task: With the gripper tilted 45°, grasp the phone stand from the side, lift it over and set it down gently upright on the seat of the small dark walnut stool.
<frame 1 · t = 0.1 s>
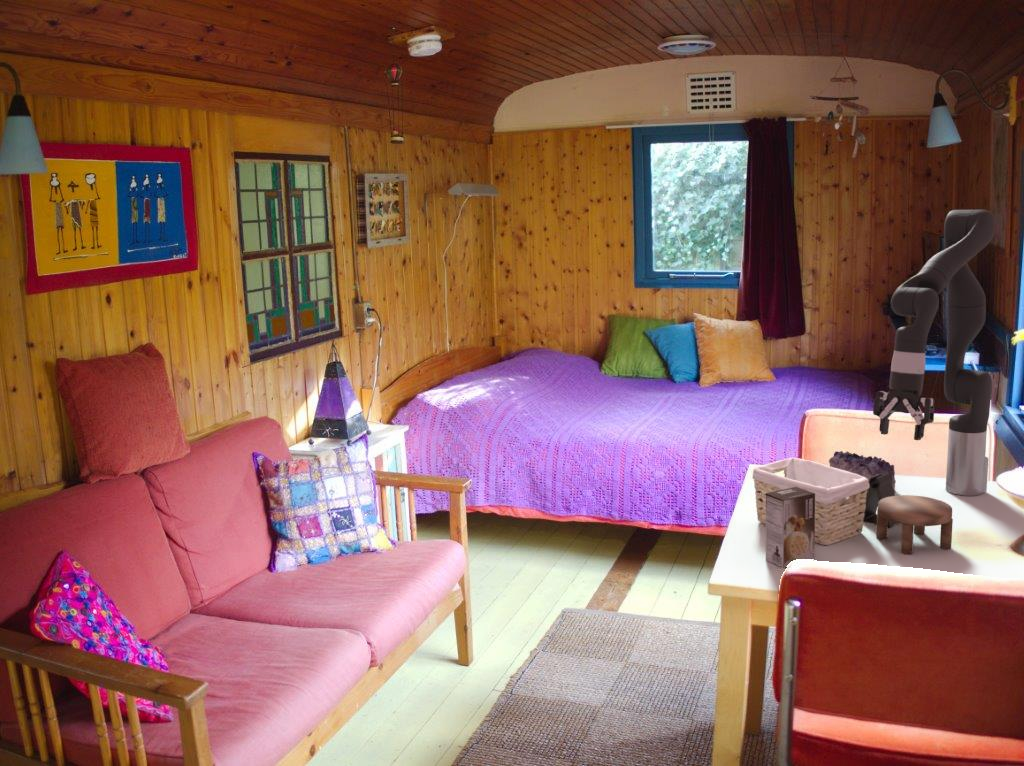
hand: (900, 437, 238), 22 cm above the table, fingers open, 8 cm apart
stool: (913, 542, 230), on the table
storage basket: (808, 529, 242), on the table
geode: (861, 485, 274), on the table
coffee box: (789, 561, 223), on the table
phone stand: (879, 521, 245), on the table
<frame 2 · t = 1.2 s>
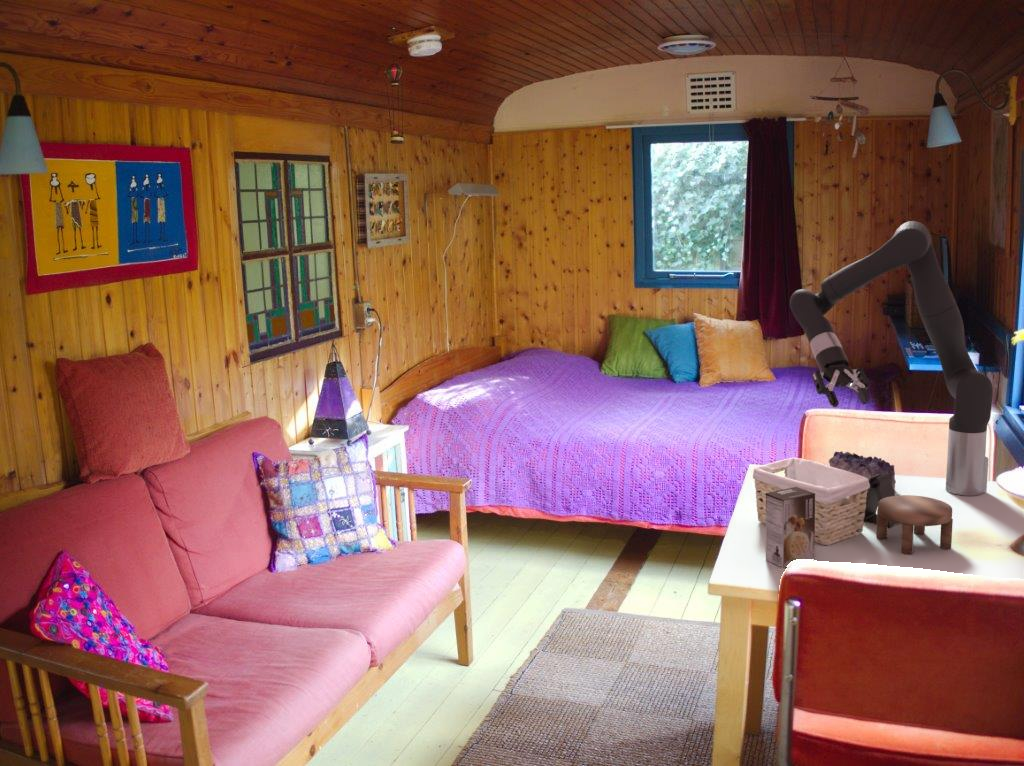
hand: (851, 404, 253), 27 cm above the table, fingers open, 8 cm apart
nothing on the table moved.
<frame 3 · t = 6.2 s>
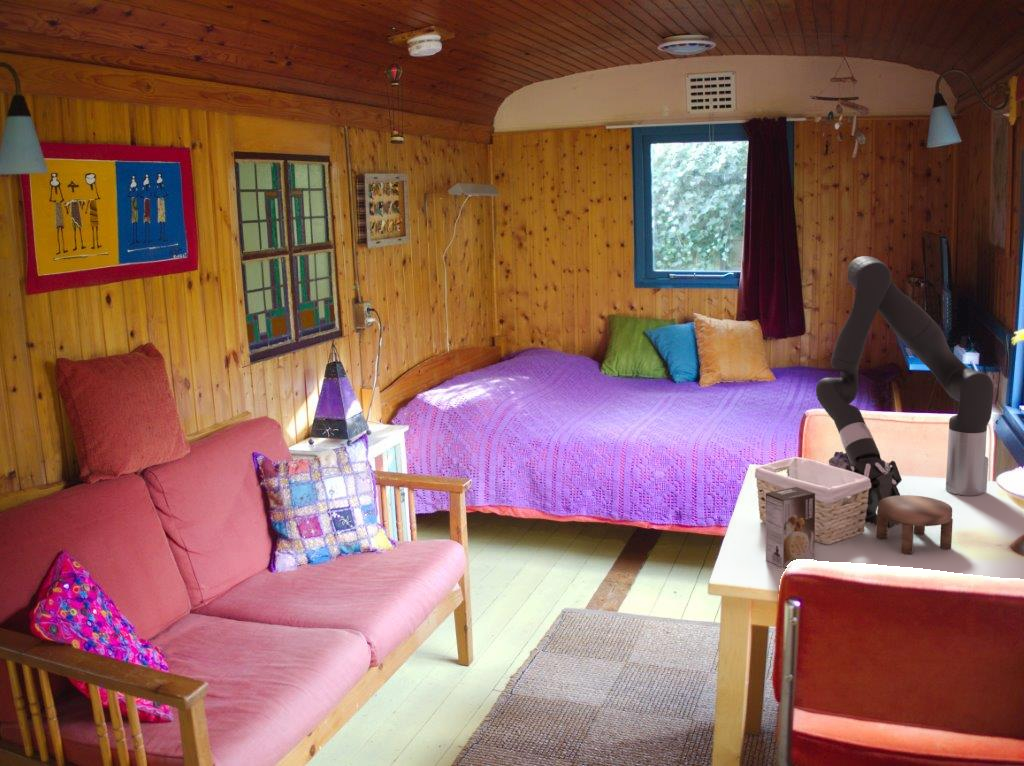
hand: (883, 501, 242), 5 cm above the table, fingers closed on phone stand, 6 cm apart
phone stand: (879, 521, 245), on the table, touching gripper
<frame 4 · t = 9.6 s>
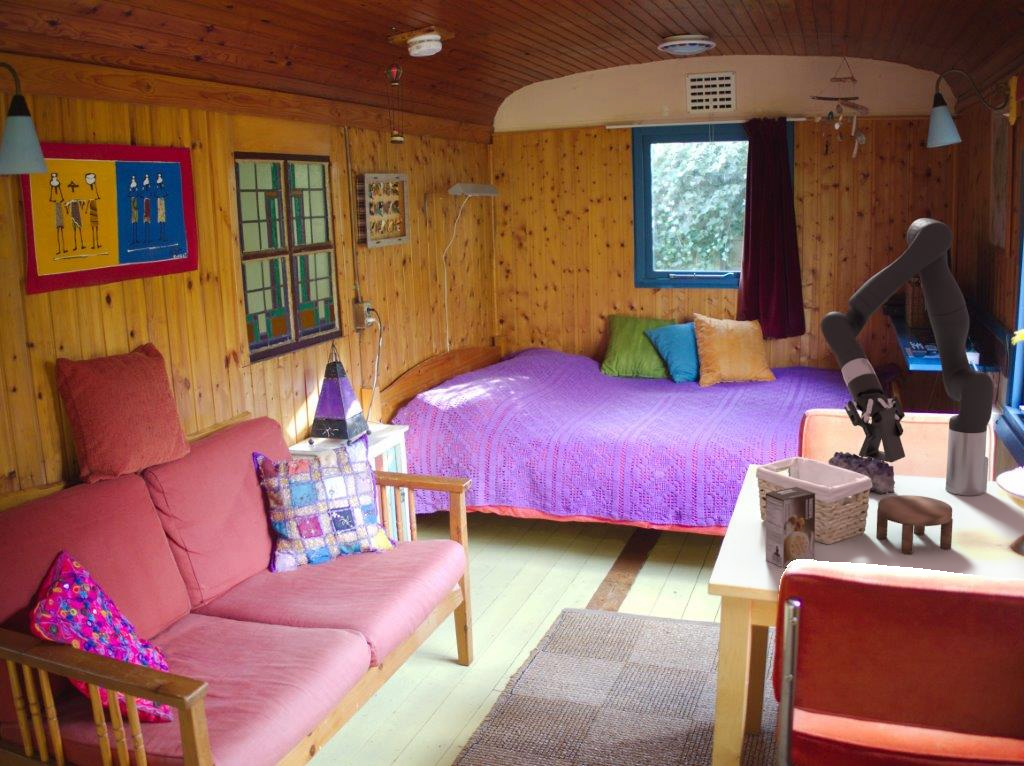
hand: (886, 436, 239), 22 cm above the table, fingers closed on phone stand, 6 cm apart
phone stand: (881, 457, 242), point 16 cm above the table, touching gripper
when the fingers open (16 cm above the table, at t = 13.2 s): phone stand drops 1 cm, resting on stool.
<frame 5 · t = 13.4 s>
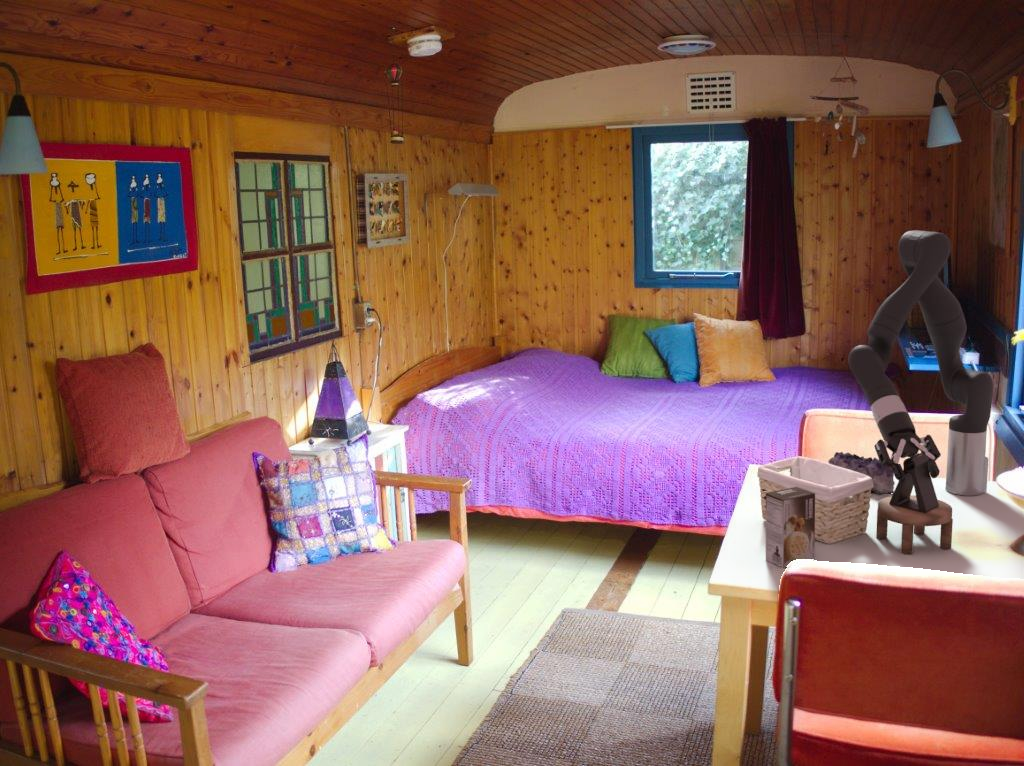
hand: (919, 478, 225), 16 cm above the table, fingers open, 8 cm apart
phone stand: (913, 506, 228), point 9 cm above the table, touching stool
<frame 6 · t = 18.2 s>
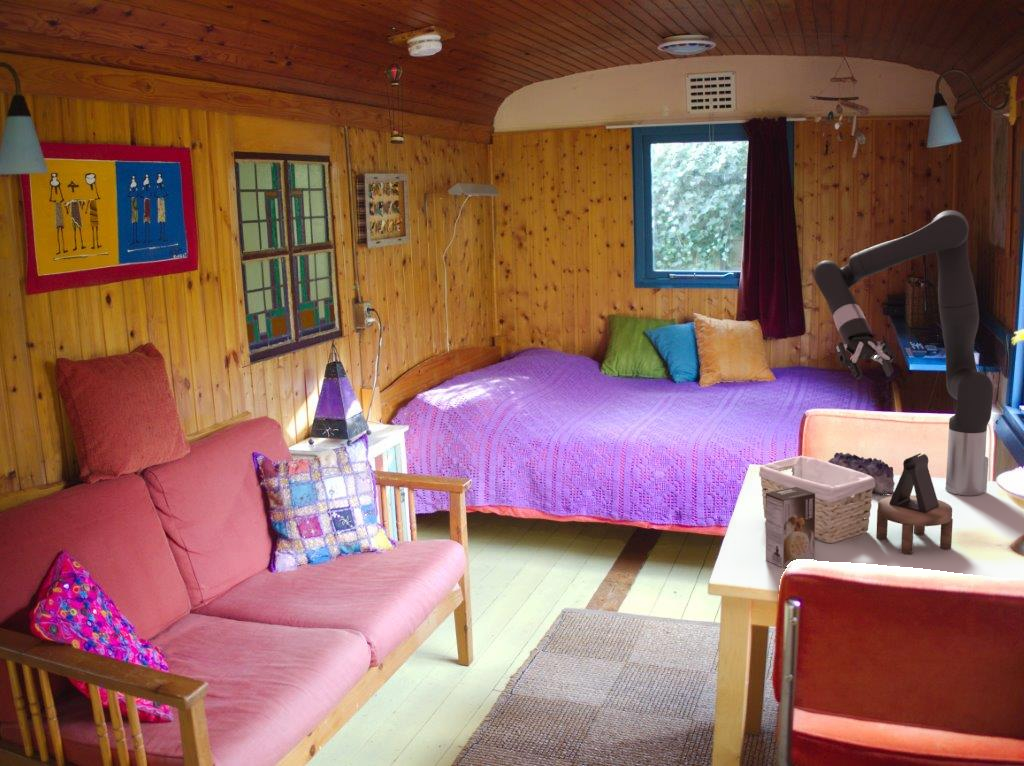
hand: (875, 376, 249), 35 cm above the table, fingers open, 8 cm apart
at the end: phone stand inside the target area on the stool (0.2 cm from its centre), point 8.8 cm above the stool's base; phone stand tilted 0°; the gripper is holding nothing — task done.
